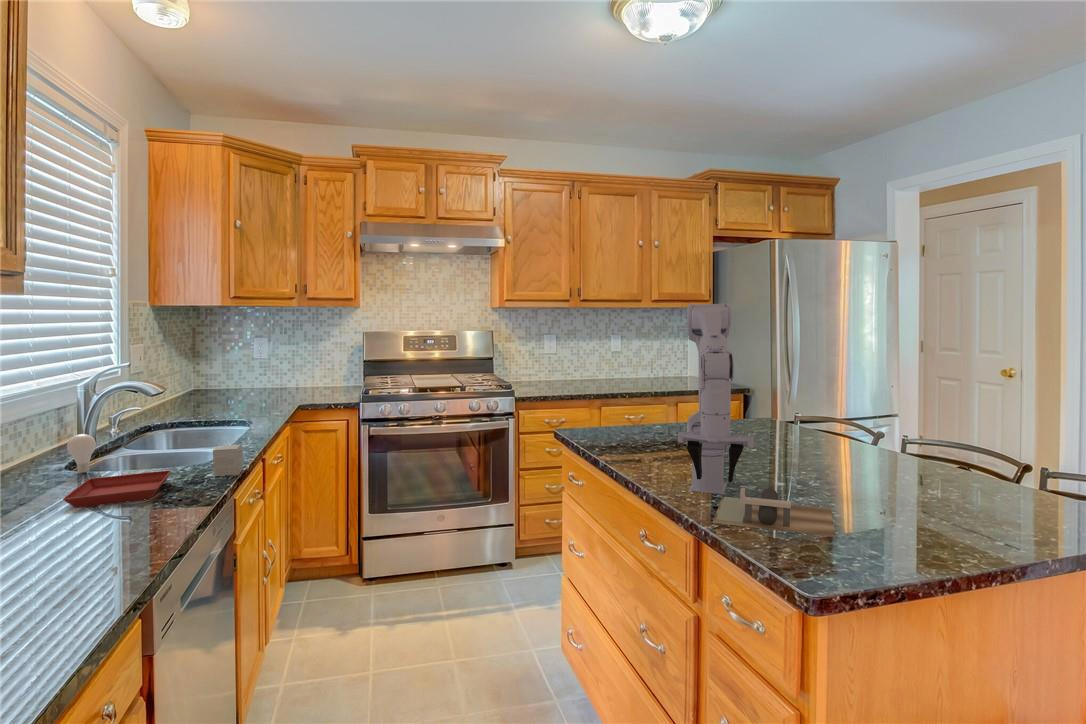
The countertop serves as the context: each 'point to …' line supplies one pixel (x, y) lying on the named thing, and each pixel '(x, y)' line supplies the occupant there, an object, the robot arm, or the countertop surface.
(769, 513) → the dark grey rod
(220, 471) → the product box
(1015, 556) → the countertop surface
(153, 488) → the plant saucer
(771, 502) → the beige l-shaped block
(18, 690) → the countertop surface
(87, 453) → the lightbulb
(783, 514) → the board
